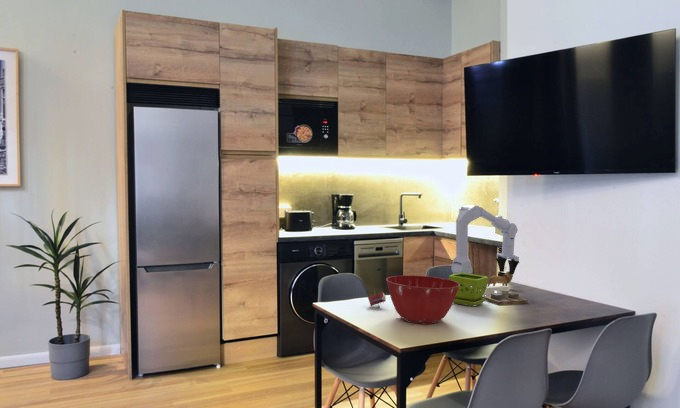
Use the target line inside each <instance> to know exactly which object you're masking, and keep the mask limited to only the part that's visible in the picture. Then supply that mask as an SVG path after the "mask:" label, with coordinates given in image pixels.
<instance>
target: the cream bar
mask: <svg viewBox="0 0 680 408" xmlns="http://www.w3.org/2000/svg"><path fill="white" fill-rule="evenodd" d="M502 290H507V291H509V292H510V286H508V285H507V286H505V285H504V286H502V285H495V286H493V285H489V286H488V285H487V287H486V290H485V293H484V295H483V296H485V295H486V296H491V294H492V293H495V291H496V293H499V294H502Z"/></svg>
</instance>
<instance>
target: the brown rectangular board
mask: <svg viewBox="0 0 680 408" xmlns="http://www.w3.org/2000/svg"><path fill="white" fill-rule="evenodd" d="M482 298H483V299H485V300H484V302H489V303H491V304H495V305H497V306H502V305H503V306H506V305H519V304H520V305H523V304H528V303H529V299H527V298H522V297H520V294H519V293H516V292H510V290H509V291H507V290H502V294H499V293H497V292H496V293H495V292H494V293H492V294H491V296H485V295H483V297H482Z"/></svg>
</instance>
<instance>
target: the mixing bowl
mask: <svg viewBox="0 0 680 408" xmlns="http://www.w3.org/2000/svg"><path fill="white" fill-rule="evenodd" d="M385 281H386V283H387V287H388V293H389V296H390V297H389V298H390V299H391V301H392V304H393V307H394V309H395V312H396V313H397V314H398V315H399V317H401V318H403V320H404V321H406V322H410V323H413V324H420V325H421V324H422V325H426V324H427V325H429V324H437V323H438V322H440V321H441V320H443V319H444V318H445V317H446V316H447V314H448V313H449V312H450V310H451V308H452V305H453V304H454V303H453V302H454V299H455V297H456V294H457V291H458V287H459V286H460V284H459V283H458V282H455V281H452V280H449V278H442V277H437V276H427V275H408V274H407V275H392V276H388V277H386V278H385Z"/></svg>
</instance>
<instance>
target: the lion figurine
mask: <svg viewBox="0 0 680 408" xmlns="http://www.w3.org/2000/svg"><path fill="white" fill-rule="evenodd" d="M513 277H514V274H510V273H509V271H506V272H505V273H504V274H503V275H502V276H499V275H498V276H497V275H492V276H490V277H489V278H488V283H487V286H491V284H492V286H496V284H497V283H498V284H501V286H508V284H510V283H511V282H512V280H513Z"/></svg>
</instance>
